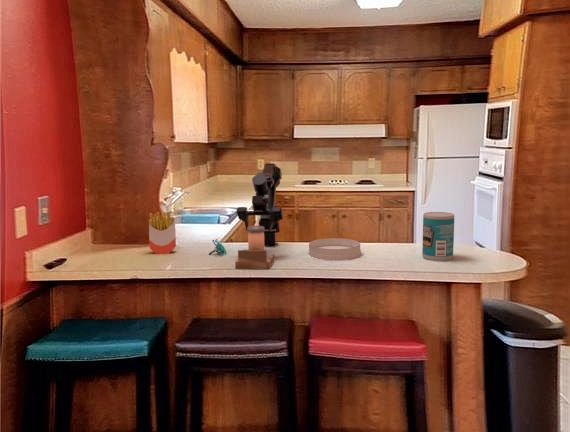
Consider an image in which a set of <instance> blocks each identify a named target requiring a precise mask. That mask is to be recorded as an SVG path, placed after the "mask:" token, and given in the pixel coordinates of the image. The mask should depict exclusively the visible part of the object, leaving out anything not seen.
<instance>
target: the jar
mask: <svg viewBox="0 0 570 432" xmlns="http://www.w3.org/2000/svg"><path fill="white" fill-rule="evenodd" d="M264 231H265V228H264V226H259V225H248V227H247V231H246V232H247V240H248V242H247V243H248V244H247V245H248V247H247V248H248V250H266V249H265V246H264Z"/></svg>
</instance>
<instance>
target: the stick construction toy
mask: <svg viewBox="0 0 570 432" xmlns="http://www.w3.org/2000/svg"><path fill="white" fill-rule="evenodd" d="M212 243H213V244H214V246H215V247H214V249H213V250H212V251H211V252H209V253H208V255H209V256H211V255H212V254H214V253H215V252H216V253H218V252H219V253H220V255H221V256H223V255H226V254H228V253H227V250H226V248H225V246H224V245H223V244H222V243H221V242H219V240H218V239H217V238H216V239H212Z"/></svg>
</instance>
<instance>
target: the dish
mask: <svg viewBox="0 0 570 432" xmlns="http://www.w3.org/2000/svg"><path fill="white" fill-rule="evenodd" d="M361 251H362V250H361V242H360V241H358V240H355V239H349V238H341V237H340V238H338V237H337V238H336V237H333V238H332V237H329V238H319V239H315V240H312V241H309V243H308V255H310V256H311V258H312V257H314V258H313V259H315V258H317V259H316V260H320V259H322V261H333V260H334V261H348V260H354V259H357V258H359V257H361V254H362V252H361ZM310 256H309V257H310Z"/></svg>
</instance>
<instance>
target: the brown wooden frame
mask: <svg viewBox="0 0 570 432" xmlns="http://www.w3.org/2000/svg"><path fill="white" fill-rule="evenodd" d="M273 261H274V262H275V254H271V255H270V256H269V257H268V259H267V249H265V250H249V249H238V251H237V260H236V261H234V262H235V263H234V264H235V265H234V266H235V267H234V268H235V269H239V270H241V269H244V270H245V269H246V270H247V269H248V270H252V269H253V270H270V269H271V267H272V265H273V264H274V262H273ZM272 263H273V264H272Z"/></svg>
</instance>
